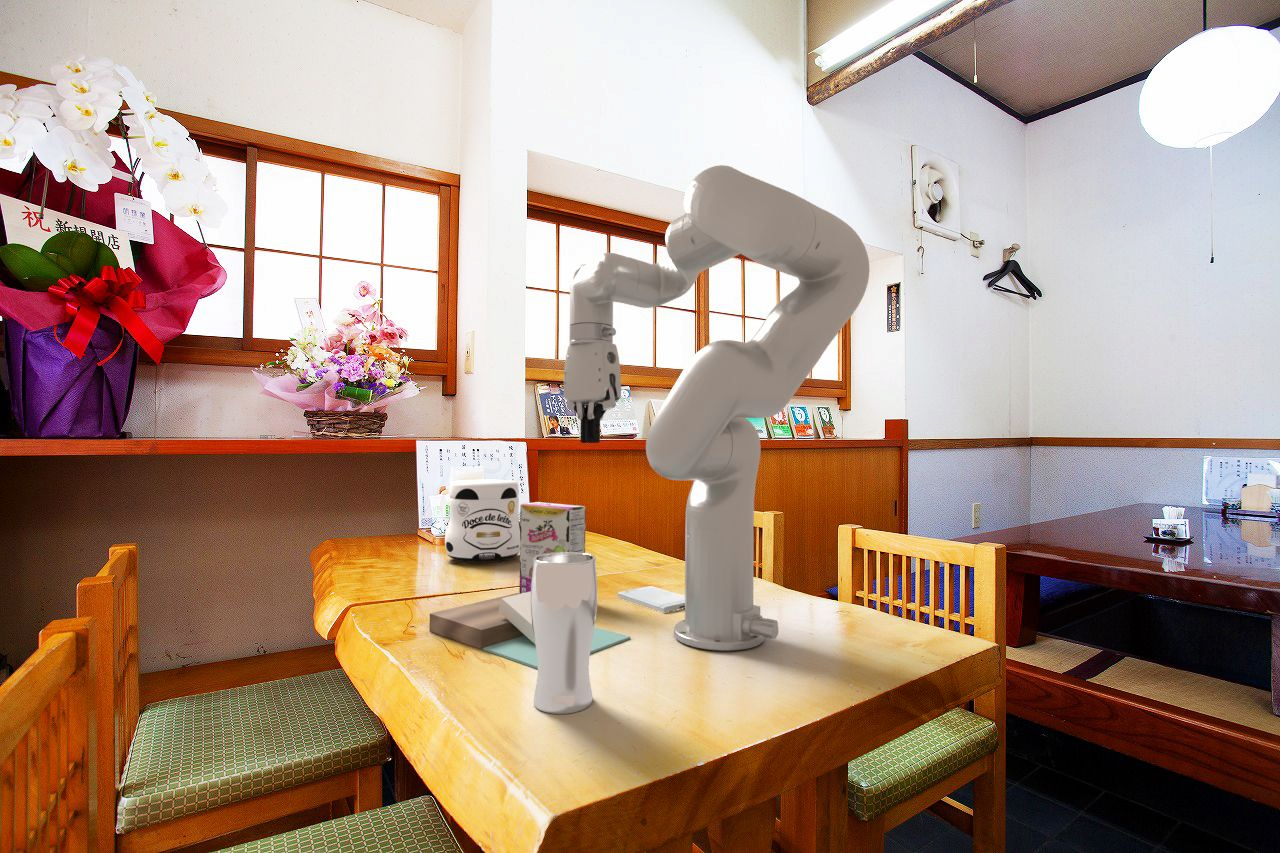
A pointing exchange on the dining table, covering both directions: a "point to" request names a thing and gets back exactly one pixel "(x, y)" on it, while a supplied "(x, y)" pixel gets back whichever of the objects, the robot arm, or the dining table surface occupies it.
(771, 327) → the robot arm
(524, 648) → the mat
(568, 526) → the candy bar box
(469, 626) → the block
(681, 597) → the hard drive
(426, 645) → the dining table surface
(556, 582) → the beer glass
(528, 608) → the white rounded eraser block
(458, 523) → the doce de leite container
